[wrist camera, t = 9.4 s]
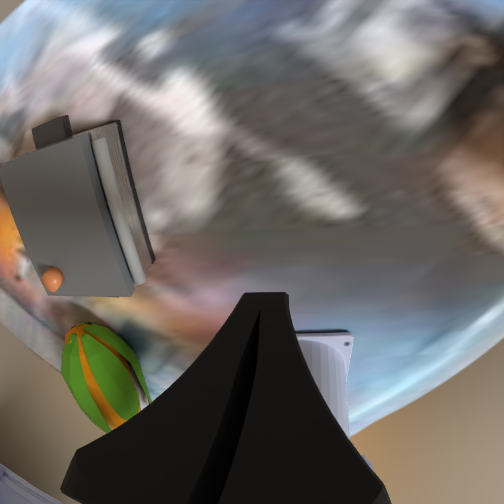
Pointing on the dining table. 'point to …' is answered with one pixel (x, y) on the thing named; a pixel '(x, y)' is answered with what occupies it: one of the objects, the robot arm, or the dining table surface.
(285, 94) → the dining table surface
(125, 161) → the cooker
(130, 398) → the corn
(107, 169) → the lid
